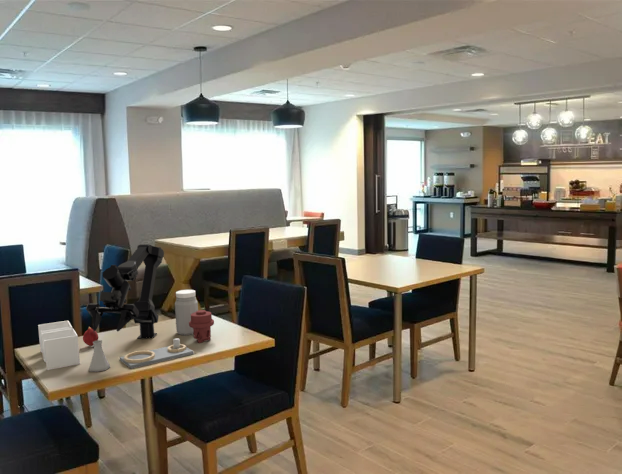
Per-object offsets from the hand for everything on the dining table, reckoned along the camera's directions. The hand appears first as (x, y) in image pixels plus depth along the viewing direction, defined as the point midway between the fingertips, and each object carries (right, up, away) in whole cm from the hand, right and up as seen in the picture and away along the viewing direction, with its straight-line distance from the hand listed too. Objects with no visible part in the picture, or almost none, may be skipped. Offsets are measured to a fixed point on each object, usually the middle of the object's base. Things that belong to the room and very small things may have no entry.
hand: (105, 330), depth 206 cm
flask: (-1, -13, -4) cm, 14 cm away
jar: (+22, -7, +38) cm, 44 cm away
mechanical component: (+30, -8, +25) cm, 41 cm away
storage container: (-21, -12, +9) cm, 26 cm away
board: (+17, -11, +6) cm, 21 cm away
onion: (-14, -10, +22) cm, 28 cm away
